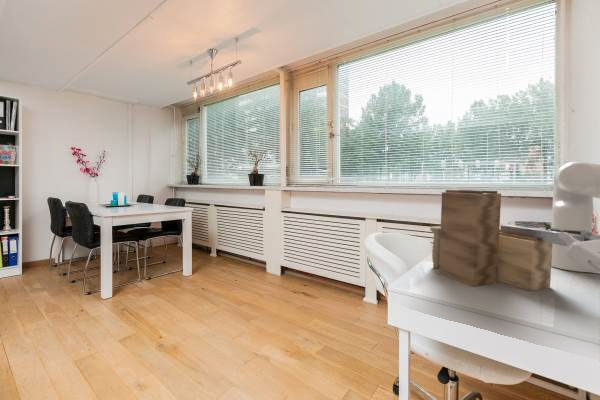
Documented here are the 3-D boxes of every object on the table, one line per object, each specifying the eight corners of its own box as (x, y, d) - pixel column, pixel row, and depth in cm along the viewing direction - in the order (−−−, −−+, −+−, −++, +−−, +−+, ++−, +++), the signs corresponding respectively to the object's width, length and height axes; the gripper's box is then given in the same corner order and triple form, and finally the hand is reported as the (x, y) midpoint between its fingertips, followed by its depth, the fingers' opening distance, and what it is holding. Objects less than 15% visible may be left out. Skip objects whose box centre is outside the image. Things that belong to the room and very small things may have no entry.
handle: (449, 268, 105) (450, 227, 104) (438, 270, 102) (439, 229, 101) (437, 264, 109) (438, 225, 108) (426, 267, 106) (427, 227, 105)
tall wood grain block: (460, 270, 102) (464, 189, 100) (496, 282, 90) (501, 190, 88) (439, 273, 99) (442, 189, 97) (473, 286, 87) (477, 191, 85)
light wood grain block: (500, 272, 101) (502, 229, 100) (549, 287, 86) (553, 236, 86) (481, 275, 98) (483, 230, 97) (529, 291, 83) (532, 238, 82)
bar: (506, 233, 95) (507, 224, 95) (583, 246, 76) (584, 235, 76) (500, 234, 94) (500, 225, 94) (577, 247, 75) (577, 236, 75)
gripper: (598, 285, 65) (540, 244, 75) (646, 275, 72) (586, 238, 82) (619, 265, 61) (555, 225, 72) (667, 256, 68) (602, 221, 79)
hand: (572, 232), depth 77 cm, fingers open, 8 cm apart
